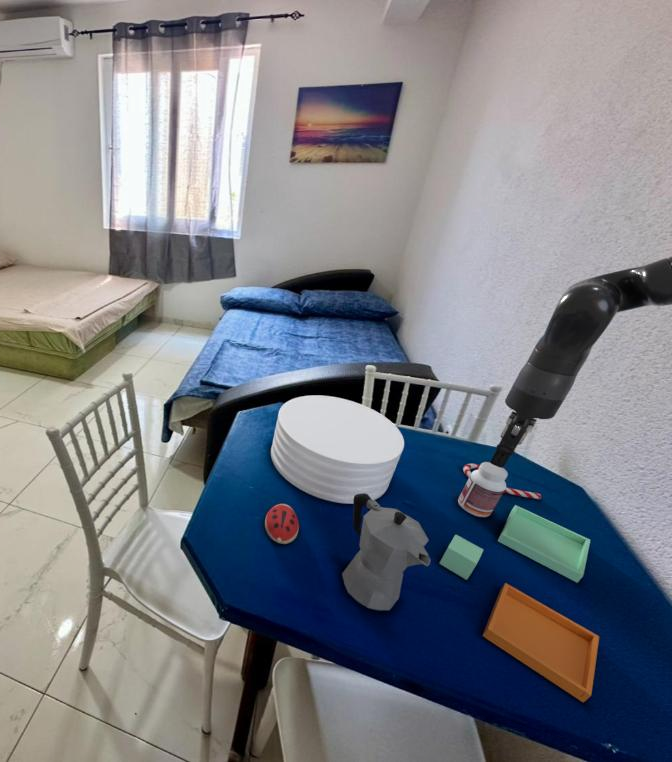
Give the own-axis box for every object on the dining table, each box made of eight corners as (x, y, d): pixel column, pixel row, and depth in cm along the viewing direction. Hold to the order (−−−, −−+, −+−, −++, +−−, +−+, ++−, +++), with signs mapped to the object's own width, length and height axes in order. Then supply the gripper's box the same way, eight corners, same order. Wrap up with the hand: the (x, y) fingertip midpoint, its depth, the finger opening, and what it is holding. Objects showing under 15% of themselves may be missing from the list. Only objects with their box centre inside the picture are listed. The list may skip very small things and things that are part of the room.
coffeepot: (420, 615, 68) (461, 541, 59) (373, 630, 66) (410, 555, 57) (357, 541, 81) (384, 472, 72) (316, 551, 79) (339, 481, 70)
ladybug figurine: (298, 514, 87) (301, 502, 85) (297, 551, 78) (300, 539, 77) (266, 506, 88) (269, 494, 87) (262, 542, 80) (264, 529, 78)
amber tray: (592, 643, 65) (599, 636, 64) (583, 703, 58) (591, 695, 57) (500, 590, 73) (505, 582, 72) (482, 636, 65) (487, 628, 64)
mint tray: (584, 546, 82) (590, 539, 81) (577, 583, 74) (583, 575, 73) (510, 511, 90) (515, 504, 89) (497, 541, 82) (502, 534, 81)
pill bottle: (497, 517, 88) (520, 478, 83) (472, 519, 87) (494, 480, 82) (474, 496, 93) (494, 458, 88) (450, 498, 93) (469, 460, 87)
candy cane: (543, 503, 90) (463, 475, 98) (540, 507, 91) (461, 479, 98) (540, 484, 96) (464, 459, 103) (537, 488, 97) (462, 463, 104)
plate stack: (282, 420, 119) (289, 386, 113) (388, 448, 108) (402, 412, 103) (259, 478, 96) (266, 439, 91) (389, 521, 86) (407, 480, 80)
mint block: (473, 565, 77) (483, 549, 75) (466, 580, 74) (477, 563, 72) (446, 550, 80) (455, 534, 78) (438, 563, 77) (447, 547, 75)
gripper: (560, 409, 69) (516, 481, 77) (571, 384, 77) (530, 451, 85) (506, 392, 74) (470, 461, 81) (522, 370, 82) (488, 435, 90)
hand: (501, 456), depth 83 cm, fingers open, 8 cm apart
